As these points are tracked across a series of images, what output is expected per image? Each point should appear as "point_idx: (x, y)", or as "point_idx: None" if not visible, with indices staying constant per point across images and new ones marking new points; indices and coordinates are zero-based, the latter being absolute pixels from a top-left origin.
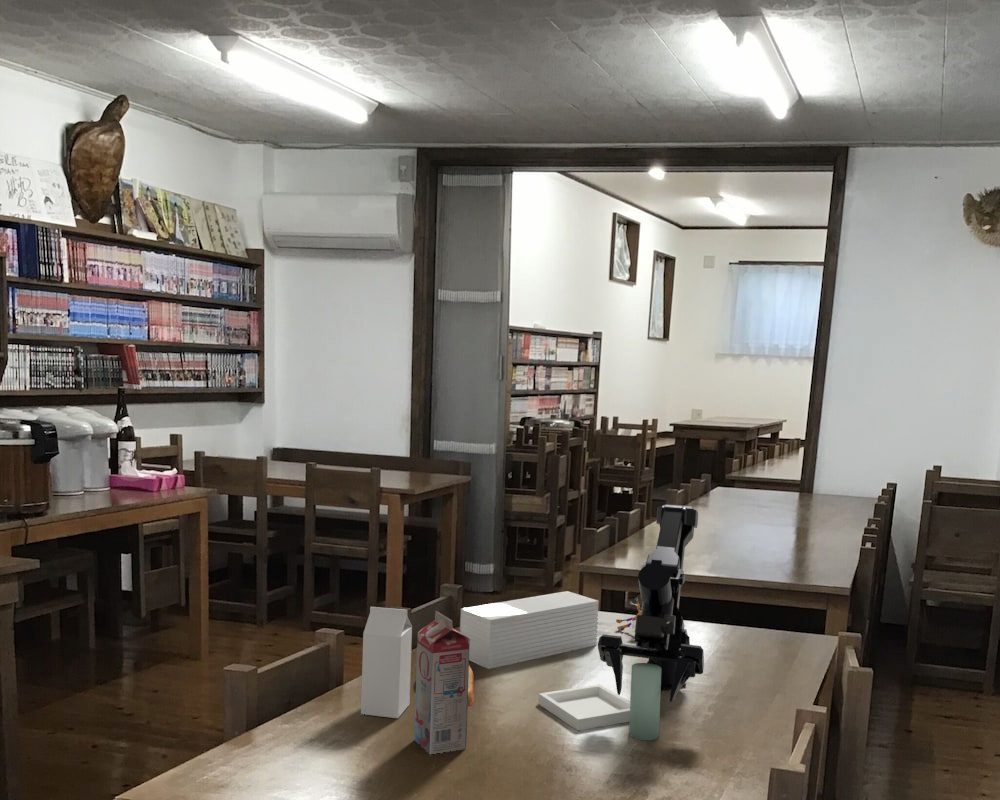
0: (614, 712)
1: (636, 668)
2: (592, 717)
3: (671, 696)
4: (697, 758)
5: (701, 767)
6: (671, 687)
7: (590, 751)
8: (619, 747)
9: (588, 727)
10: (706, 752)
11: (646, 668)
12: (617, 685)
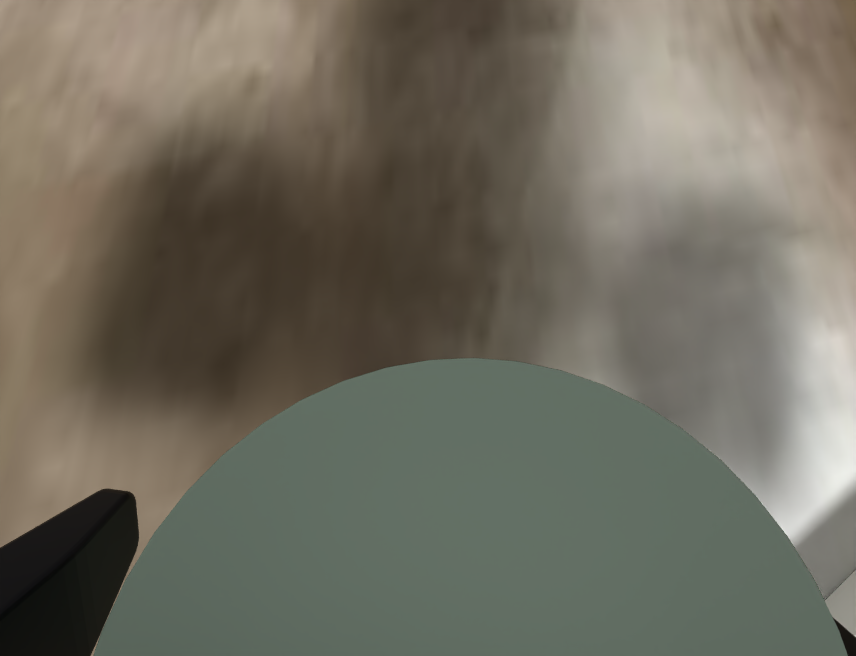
0: None
1: (723, 573)
2: (852, 633)
3: (96, 504)
4: (90, 287)
5: (92, 176)
6: (34, 588)
7: (720, 244)
8: (566, 337)
9: (826, 603)
10: (7, 391)
11: (480, 652)
12: (852, 646)
